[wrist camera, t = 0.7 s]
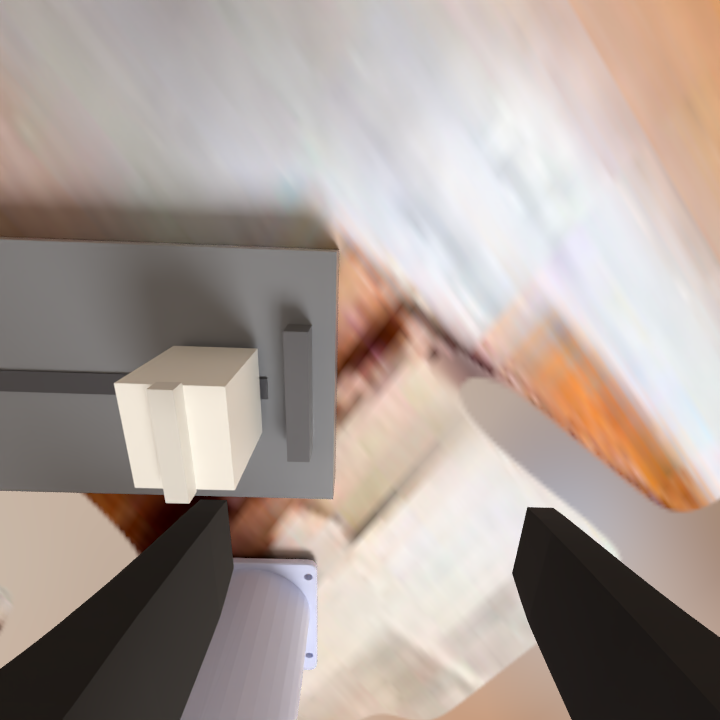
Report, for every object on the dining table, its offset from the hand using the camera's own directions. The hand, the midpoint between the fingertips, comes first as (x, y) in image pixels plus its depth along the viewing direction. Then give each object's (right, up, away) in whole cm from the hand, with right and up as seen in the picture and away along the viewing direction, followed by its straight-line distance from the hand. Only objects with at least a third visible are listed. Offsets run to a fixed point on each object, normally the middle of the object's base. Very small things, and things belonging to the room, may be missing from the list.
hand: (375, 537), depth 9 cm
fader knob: (-6, +3, +7) cm, 10 cm away
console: (-15, +4, +9) cm, 19 cm away
